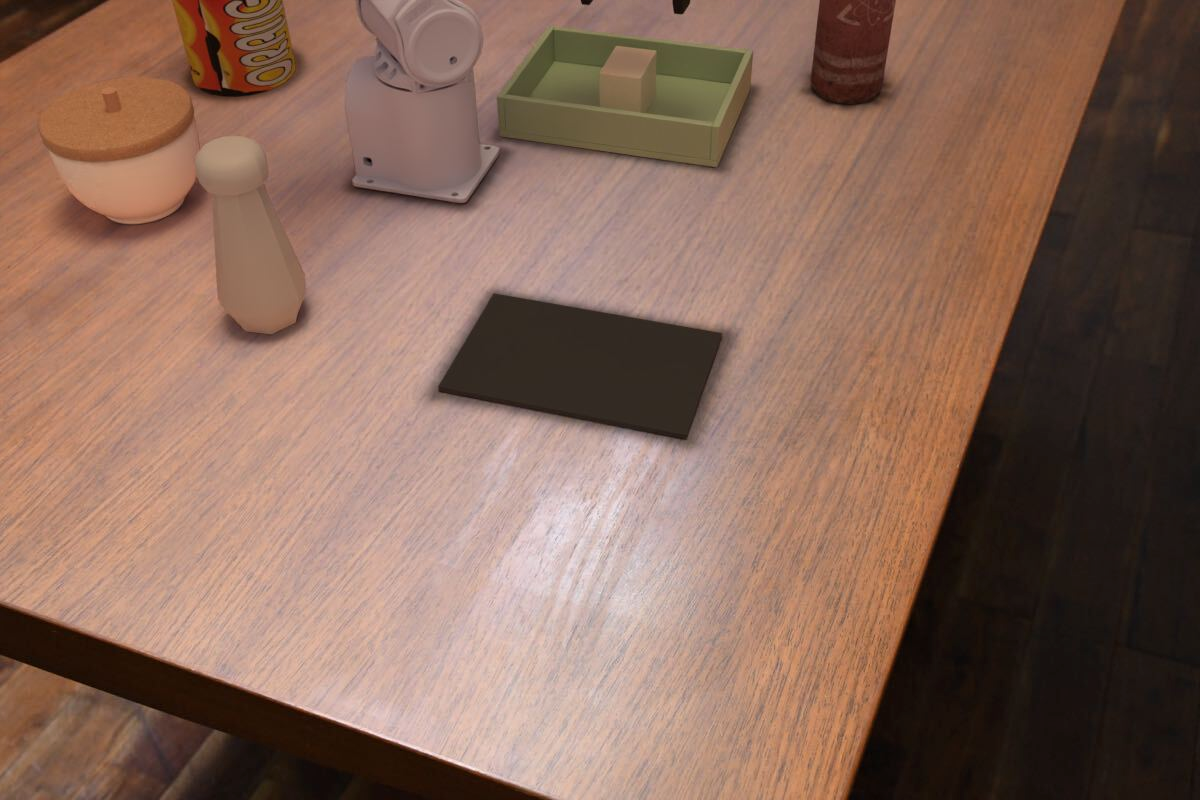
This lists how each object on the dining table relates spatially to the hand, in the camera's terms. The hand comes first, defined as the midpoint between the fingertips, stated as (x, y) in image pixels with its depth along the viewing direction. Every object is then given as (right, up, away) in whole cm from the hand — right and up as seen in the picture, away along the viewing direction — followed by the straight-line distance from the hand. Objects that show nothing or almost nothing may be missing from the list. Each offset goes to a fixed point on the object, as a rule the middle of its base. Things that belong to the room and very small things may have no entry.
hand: (635, 3), depth 95 cm
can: (+18, -4, +10) cm, 21 cm away
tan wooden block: (0, -6, +6) cm, 9 cm away
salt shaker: (-25, -25, -13) cm, 38 cm away
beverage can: (-35, -2, +13) cm, 37 cm away
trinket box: (-38, -16, -2) cm, 41 cm away
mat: (-4, -29, -17) cm, 34 cm away
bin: (0, -7, +7) cm, 10 cm away
